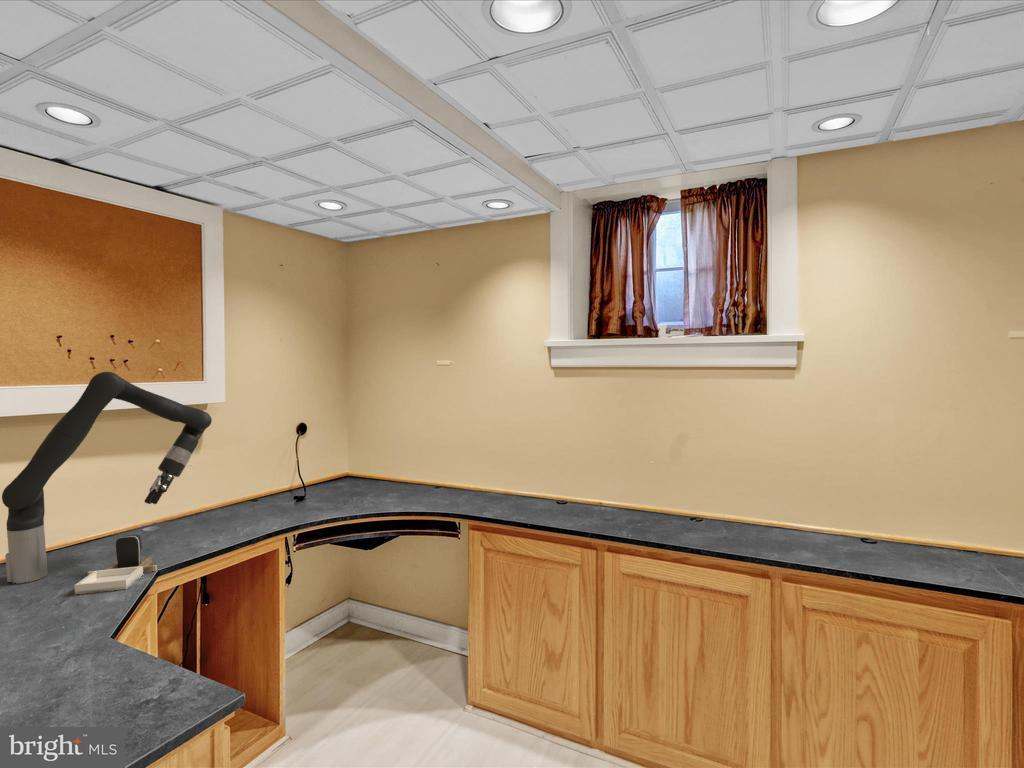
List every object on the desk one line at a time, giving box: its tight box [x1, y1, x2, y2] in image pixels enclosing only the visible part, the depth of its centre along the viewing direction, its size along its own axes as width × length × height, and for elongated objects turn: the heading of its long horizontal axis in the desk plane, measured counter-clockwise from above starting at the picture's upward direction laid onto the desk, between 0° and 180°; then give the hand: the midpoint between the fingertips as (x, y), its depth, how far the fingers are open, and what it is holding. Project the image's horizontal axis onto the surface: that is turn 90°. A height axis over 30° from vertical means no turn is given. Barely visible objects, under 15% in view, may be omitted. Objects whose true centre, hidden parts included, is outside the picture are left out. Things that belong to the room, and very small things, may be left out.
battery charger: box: [115, 534, 143, 568], centre depth 190 cm, size 7×4×11 cm, turn 100°
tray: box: [73, 566, 144, 596], centre depth 176 cm, size 14×12×3 cm
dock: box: [87, 557, 158, 576], centre depth 188 cm, size 20×10×2 cm, turn 102°
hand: (149, 503), depth 194 cm, fingers open, 8 cm apart
